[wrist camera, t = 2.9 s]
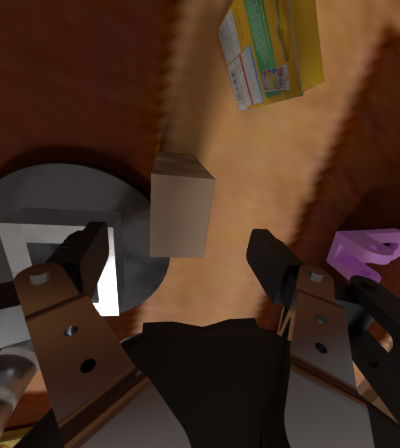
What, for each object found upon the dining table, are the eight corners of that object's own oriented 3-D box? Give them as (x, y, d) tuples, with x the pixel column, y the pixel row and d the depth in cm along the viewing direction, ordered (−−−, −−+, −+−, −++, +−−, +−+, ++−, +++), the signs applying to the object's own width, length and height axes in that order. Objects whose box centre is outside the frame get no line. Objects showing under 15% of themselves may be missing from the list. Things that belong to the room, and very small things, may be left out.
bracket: (325, 260, 34) (360, 290, 28) (335, 230, 32) (376, 256, 26) (392, 255, 36) (439, 282, 30) (407, 227, 34) (461, 250, 27)
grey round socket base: (175, 171, 24) (177, 182, 19) (165, 308, 33) (165, 339, 28) (-48, 150, 20) (-117, 158, 15) (10, 312, 29) (-22, 349, 24)
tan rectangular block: (193, 155, 24) (215, 179, 13) (188, 204, 26) (203, 257, 16) (158, 151, 23) (151, 173, 12) (156, 202, 26) (149, 256, 15)
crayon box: (264, 99, 22) (347, 77, 12) (239, 111, 23) (300, 99, 12) (244, 15, 19) (336, -114, 9) (215, 30, 19) (272, -81, 9)
